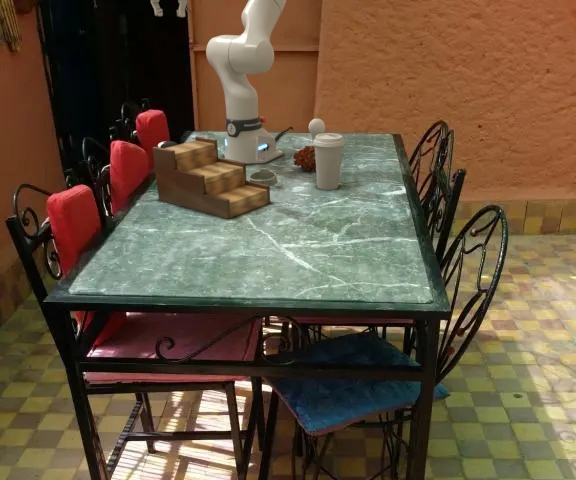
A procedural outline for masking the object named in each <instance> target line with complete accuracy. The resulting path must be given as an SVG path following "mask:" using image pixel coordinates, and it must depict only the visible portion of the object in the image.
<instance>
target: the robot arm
mask: <svg viewBox="0 0 576 480" xmlns="http://www.w3.org/2000/svg"><path fill="white" fill-rule="evenodd" d="M159 2H160V0H150V4H151V6H152V8H153V11H154V16H155V17H163V15H164V12H163V8H161V7H160V4H159ZM177 2H178V4H179V6H178V9H176V17H178V18H185V17H186V8H187V4H188V0H177ZM286 3H287V0H248V1H247V3H246V5H245V6H244V8H243V10H242V12H241V17H240V18H241V23H242V26H243V28H244V31H243V32H242V33H241V34H239V35H236V34H234V35H233V34H222V35H218V36H214V37H212V38H210V39H209V41H208V43H207V45H206V50H205V56H206V60H207V62H208V64H209V66H211V68H212V69H213V70H214V71H215V73H216V74H217V77H218V79H219V81H220V83H221V86H222V90H223V93H224V101H225V113H226V117H225V121H224V122H225V123H224V124H225V130H226V134H225V139H224V145H225V152H224V153H223V155H224V159H229V160H234V161H239V162H244V163H246V165H250V164H265V163H268V162H270V161H272V160H274V159H276V158H278V157H280V156H283V155H284V153H283V151H282V150H281V149H277V143H276V141H277V139H278V138H279V137H280V136H282V135H283V134H285V133H286V132H288V131H290V129H291V130H292V131H293V130H294V128H293V126H289V127H287V129H284V130H282V131H281V132H279V133H278V134H277V135H276V137H274V136H273V135H272V134H271V133H269V132H268V131H267V130H266V129H265V128H264V126H263V123H264V124H266V123H267V121H268V117H267V116H259V97H258V96H259V94H258V91H257V89H256V88H255V87H253V86H252V84H251V83H250V82H249V79H248V77H247V75H261V74H265V73H267V72H269V71H270V70H271V69H272V67H273V66H274V65H273V64H274V61H275V51H274V47H273V45H272V43H271V36H272V33H273V30H274V28H275V26H276V24H277V22H278V21H279V18H280V16H281V15H282V12H283V10H284V9H285V5H286Z"/></svg>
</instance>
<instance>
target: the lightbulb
mask: <svg viewBox="0 0 576 480" xmlns="http://www.w3.org/2000/svg"><path fill="white" fill-rule="evenodd" d="M307 127H308V131H309V134H310V136H311V142H312V143H313V141H314V139H315V137H316V135H319V134H325V133H324V132H325V130H326V125H325V122H324V121H323V120H322V119H320V118H313V119H311V121H310V122H309V124H308V126H307ZM312 146H315V145H313V144H312Z"/></svg>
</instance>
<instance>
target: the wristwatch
mask: <svg viewBox="0 0 576 480" xmlns="http://www.w3.org/2000/svg"><path fill="white" fill-rule="evenodd" d="M248 178H249V181H252V182H257V183H261V184H266V185H270V187H272V186H275V185H276V184H278V182H279V181H278V178H277V173H276V172H275V171H273V170H270V169H269V168H263V167H261V168H260V170H258V171H255V172H252V173H251V174H250V175H249V176H248Z"/></svg>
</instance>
